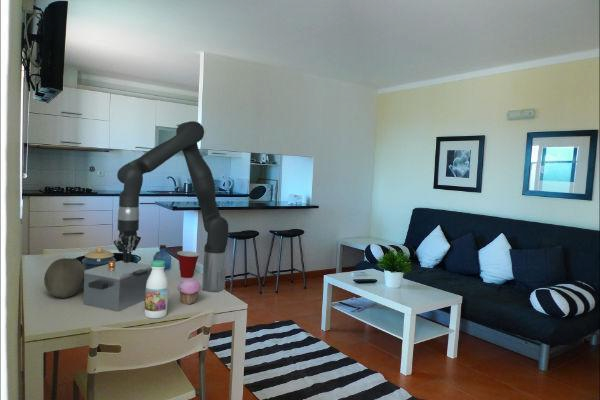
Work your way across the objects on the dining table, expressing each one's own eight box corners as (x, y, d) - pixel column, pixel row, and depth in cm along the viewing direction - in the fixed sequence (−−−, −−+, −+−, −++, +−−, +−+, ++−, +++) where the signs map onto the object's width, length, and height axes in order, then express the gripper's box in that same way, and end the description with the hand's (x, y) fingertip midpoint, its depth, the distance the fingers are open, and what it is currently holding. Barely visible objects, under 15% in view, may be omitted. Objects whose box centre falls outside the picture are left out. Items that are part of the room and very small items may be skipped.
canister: (119, 288, 176) (121, 248, 175) (87, 294, 167) (89, 251, 165) (107, 281, 185) (108, 242, 184) (76, 286, 176) (77, 245, 174)
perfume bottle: (170, 268, 214) (171, 245, 213) (160, 270, 209) (161, 247, 208) (162, 266, 217) (163, 244, 216) (152, 268, 212) (154, 245, 211)
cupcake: (189, 297, 171) (190, 274, 171) (204, 302, 167) (205, 278, 166) (172, 303, 164) (173, 278, 163) (188, 308, 159) (189, 283, 159)
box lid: (158, 269, 167) (159, 262, 167) (126, 280, 149) (126, 272, 149) (120, 262, 172) (120, 255, 172) (84, 273, 154) (84, 265, 154)
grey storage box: (151, 297, 169) (152, 268, 168) (112, 314, 148) (113, 281, 147) (119, 290, 173) (120, 262, 172) (76, 306, 152) (77, 274, 151)
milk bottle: (147, 311, 154) (150, 258, 152) (169, 311, 154) (171, 259, 153) (141, 318, 146) (144, 263, 144) (163, 319, 147) (166, 264, 145)
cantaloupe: (80, 301, 157) (82, 263, 156) (38, 302, 153) (39, 263, 152) (88, 290, 171) (89, 255, 170) (50, 291, 167) (51, 254, 166)
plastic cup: (202, 278, 201) (203, 254, 200) (180, 280, 194) (182, 255, 193) (193, 272, 210) (194, 249, 209) (172, 274, 203) (173, 250, 202)
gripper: (124, 221, 151) (123, 267, 152) (147, 217, 164) (146, 260, 165) (107, 219, 153) (106, 264, 155) (132, 215, 166) (130, 257, 167)
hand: (127, 262), depth 160 cm, fingers closed
